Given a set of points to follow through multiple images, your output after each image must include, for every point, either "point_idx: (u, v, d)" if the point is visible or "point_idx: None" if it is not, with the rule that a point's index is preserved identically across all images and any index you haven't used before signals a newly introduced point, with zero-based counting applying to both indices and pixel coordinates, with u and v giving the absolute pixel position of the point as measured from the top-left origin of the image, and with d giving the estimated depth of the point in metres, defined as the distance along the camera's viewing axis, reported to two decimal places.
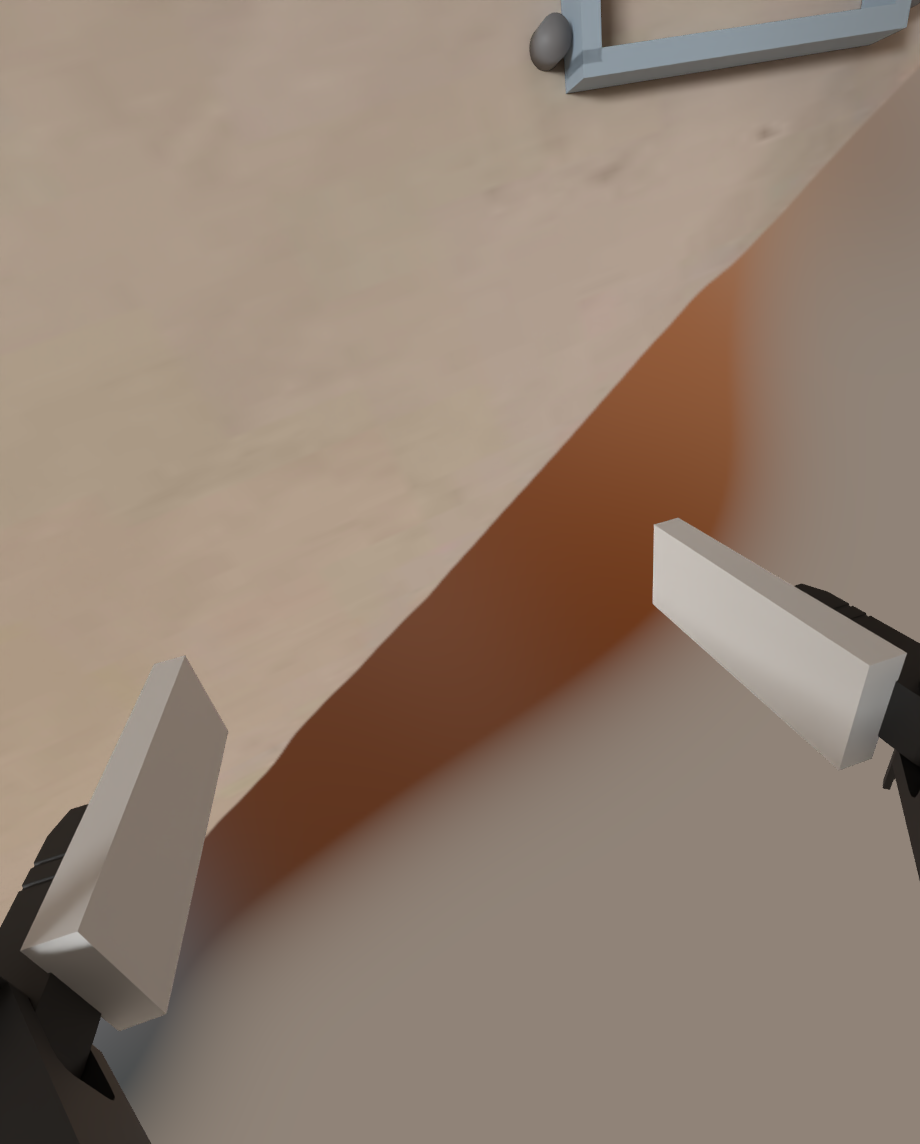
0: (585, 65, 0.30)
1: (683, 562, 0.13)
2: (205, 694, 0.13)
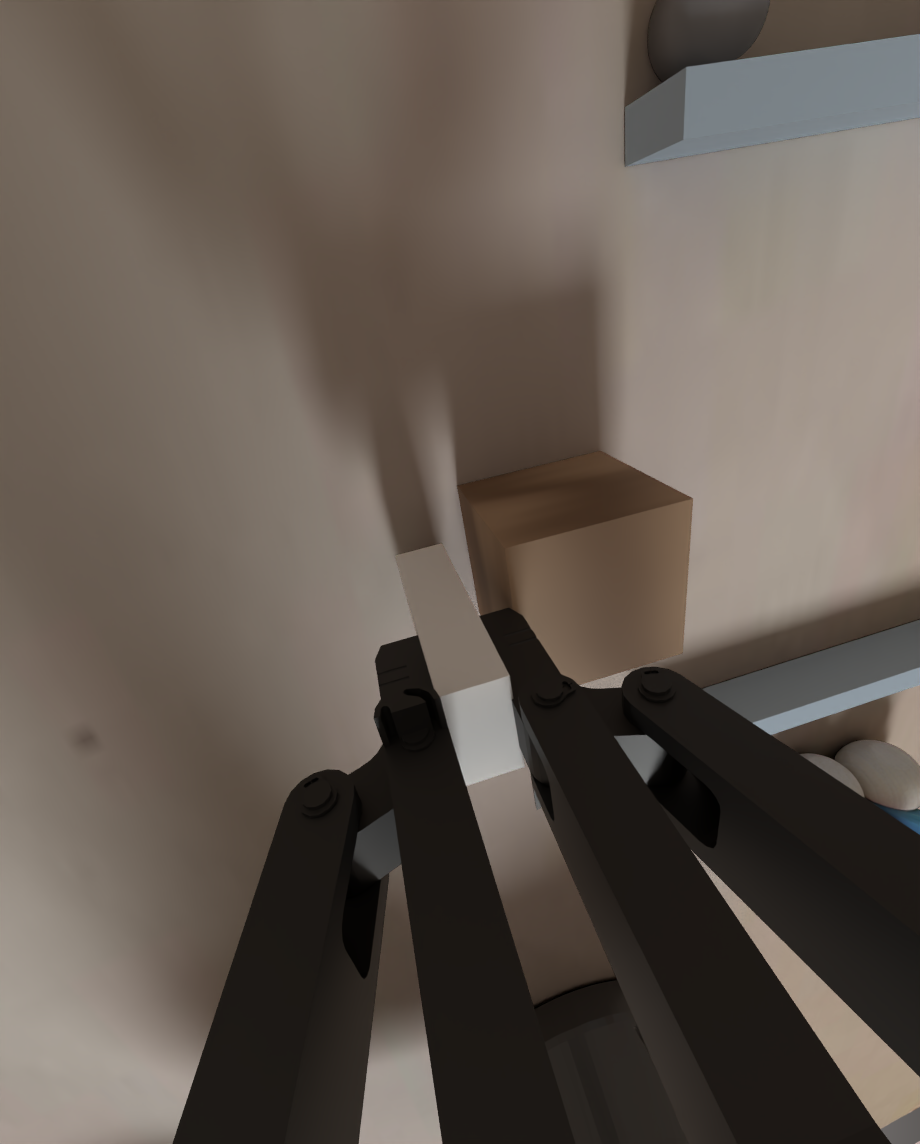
0: None
1: None
2: None
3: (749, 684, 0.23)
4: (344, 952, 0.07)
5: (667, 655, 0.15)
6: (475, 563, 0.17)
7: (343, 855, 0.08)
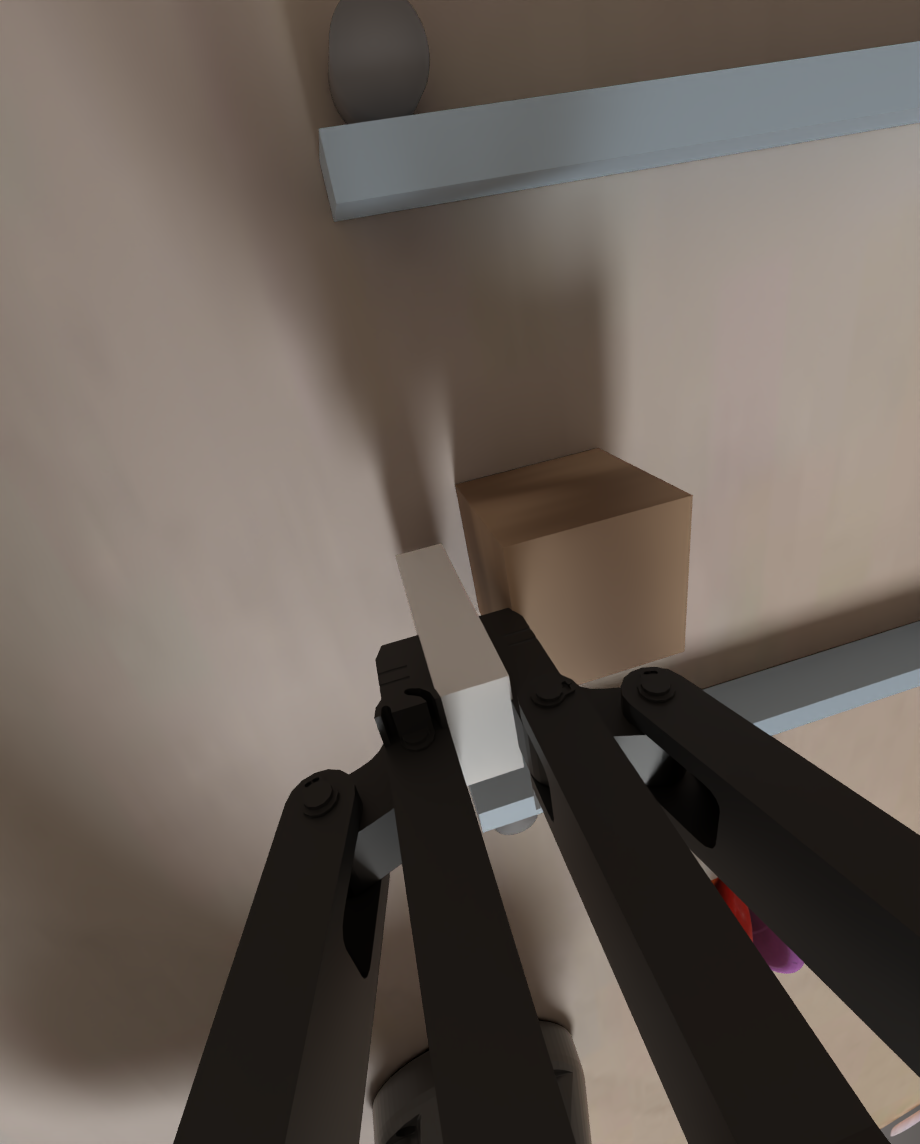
0: None
1: None
2: None
3: None
4: (345, 952, 0.07)
5: (669, 654, 0.15)
6: (475, 563, 0.17)
7: (344, 855, 0.08)
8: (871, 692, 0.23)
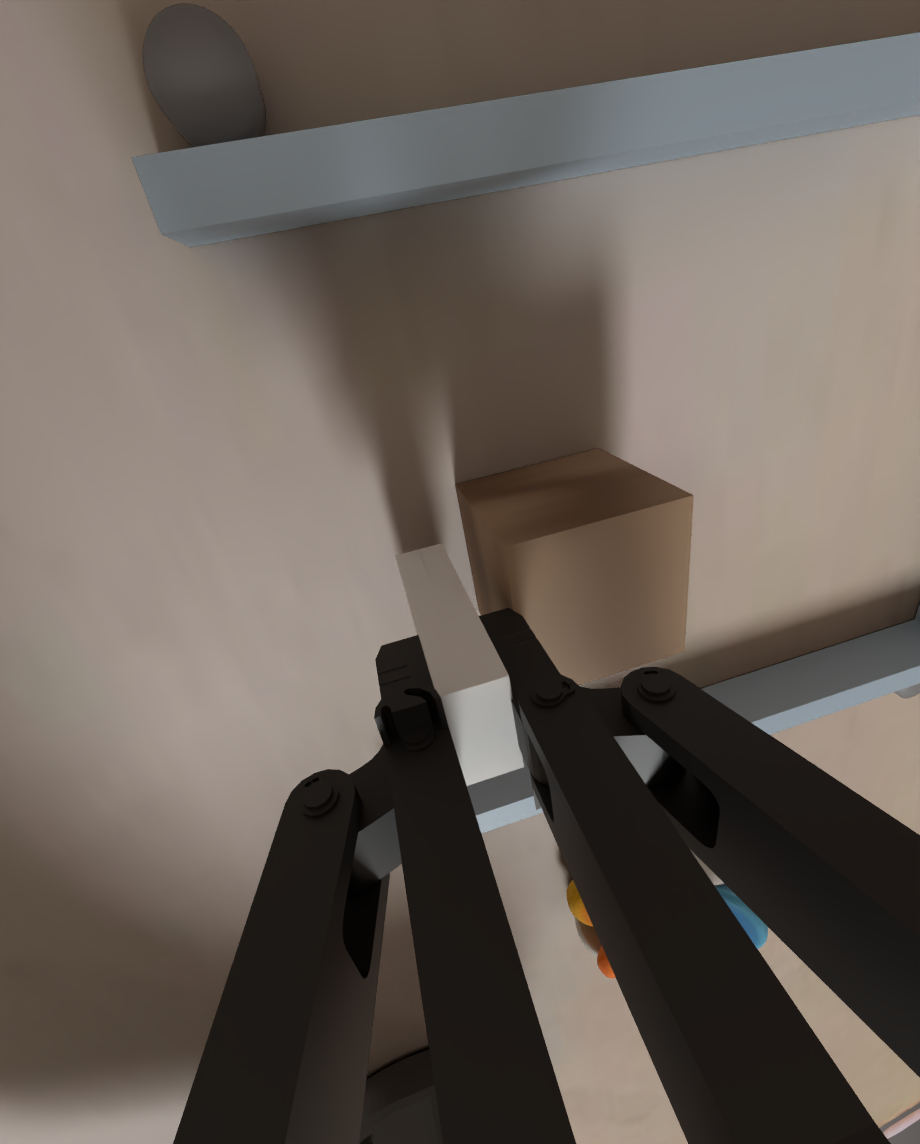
0: None
1: None
2: None
3: None
4: (345, 952, 0.07)
5: (669, 654, 0.15)
6: (475, 563, 0.17)
7: (344, 855, 0.08)
8: (808, 711, 0.22)
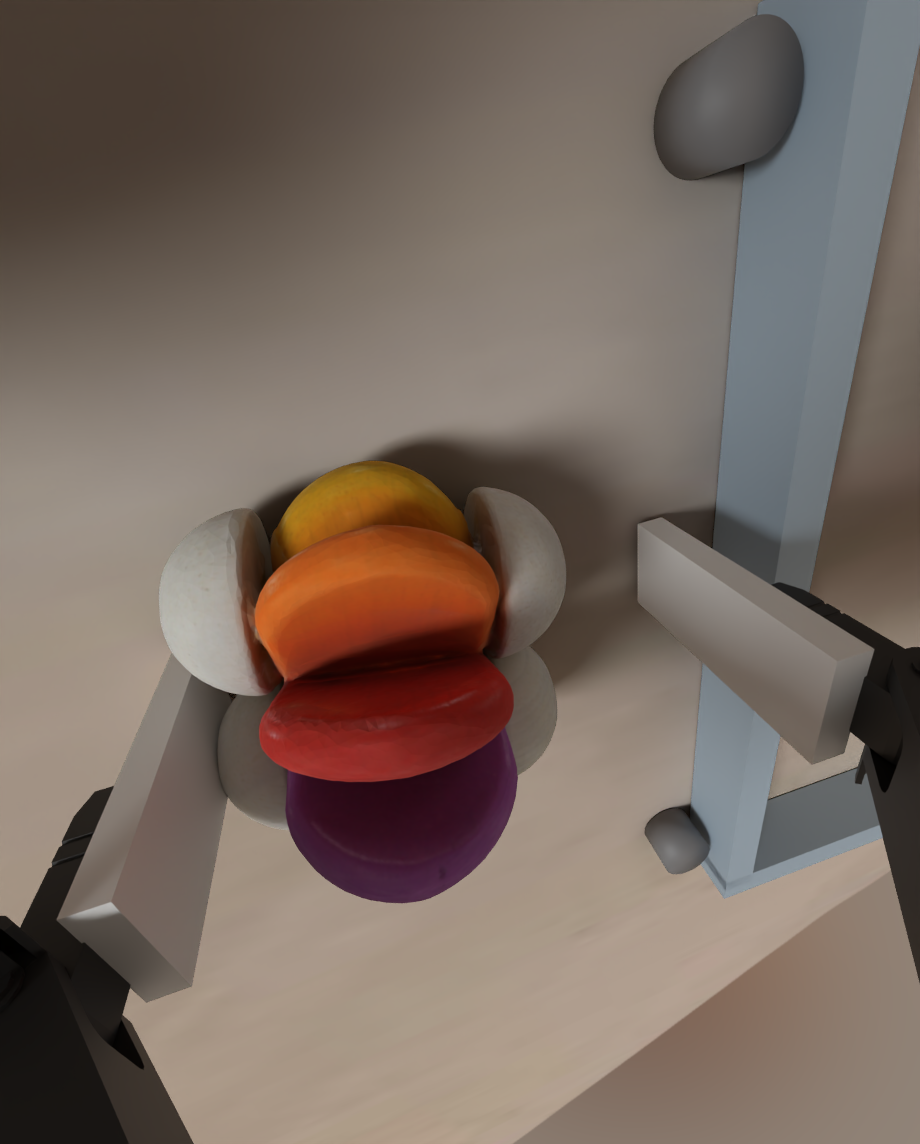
0: (728, 890, 0.21)
1: (665, 561, 0.14)
2: None
3: None
4: None
5: None
6: None
7: None
8: (766, 739, 0.17)
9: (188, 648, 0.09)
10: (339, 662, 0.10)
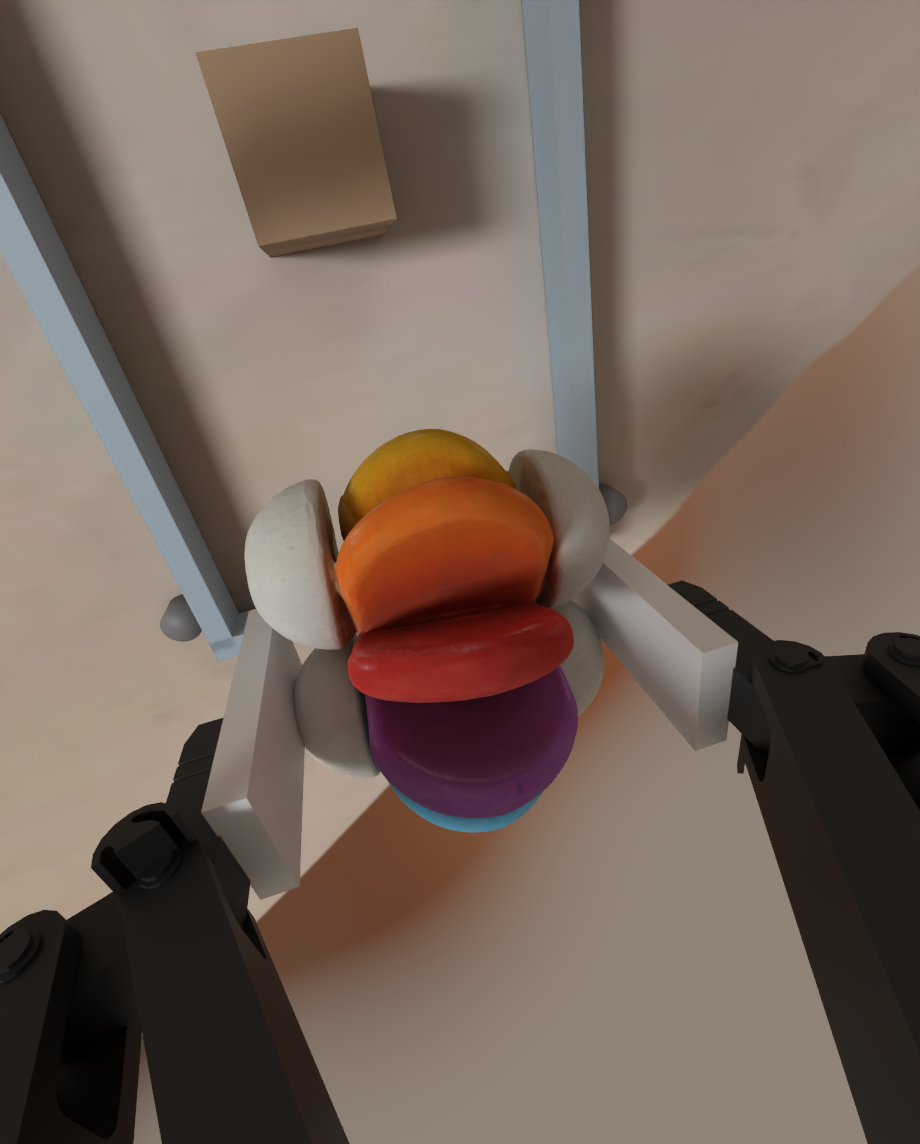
0: (217, 652, 0.27)
1: None
2: (290, 641, 0.15)
3: (14, 155, 0.18)
4: (64, 1121, 0.06)
5: (254, 231, 0.18)
6: None
7: (49, 1007, 0.07)
8: (147, 495, 0.23)
9: (276, 603, 0.10)
10: (408, 612, 0.11)
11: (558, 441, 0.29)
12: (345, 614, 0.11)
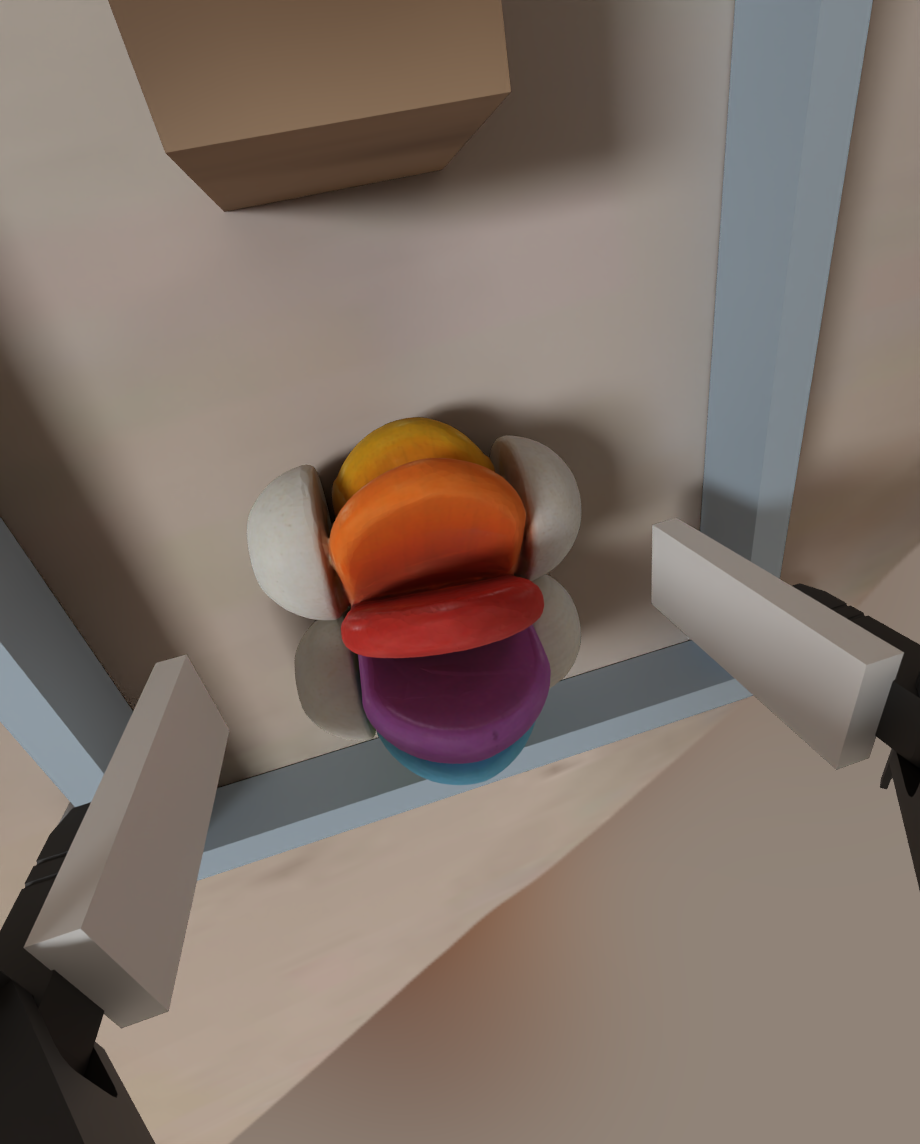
0: None
1: (681, 562, 0.13)
2: (207, 693, 0.13)
3: None
4: None
5: (150, 112, 0.07)
6: None
7: None
8: None
9: (276, 576, 0.12)
10: (397, 584, 0.12)
11: (704, 524, 0.18)
12: (339, 586, 0.12)
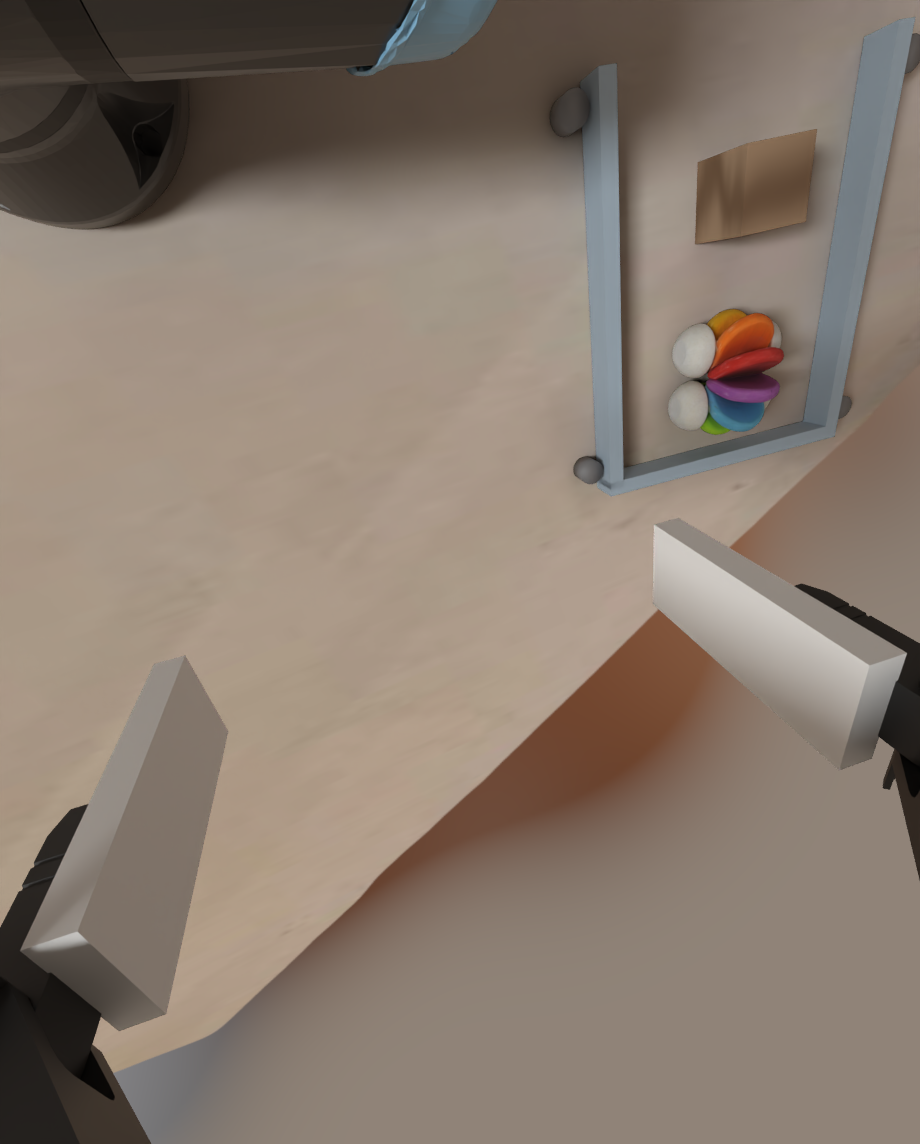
0: (612, 490, 0.44)
1: (683, 562, 0.13)
2: (205, 694, 0.13)
3: None
4: None
5: (741, 228, 0.34)
6: None
7: None
8: (615, 381, 0.40)
9: (699, 353, 0.39)
10: (729, 359, 0.40)
11: (814, 362, 0.45)
12: None
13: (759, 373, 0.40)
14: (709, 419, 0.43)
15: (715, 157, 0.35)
